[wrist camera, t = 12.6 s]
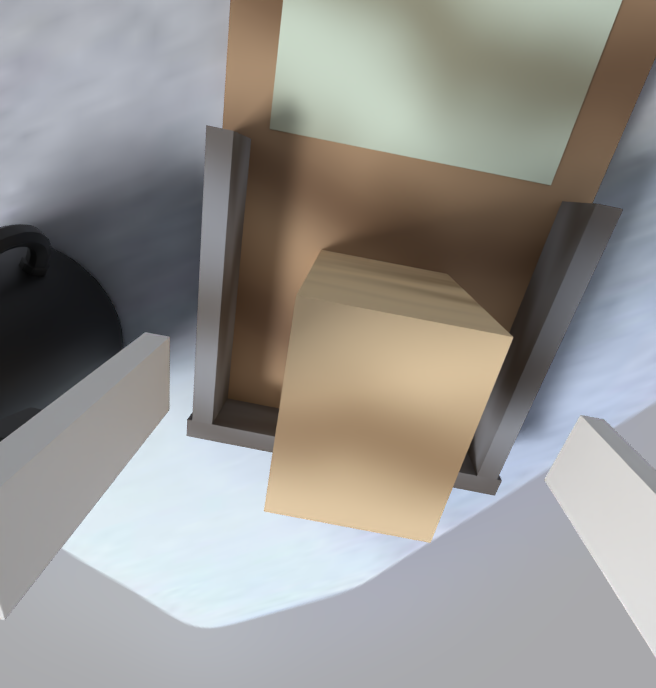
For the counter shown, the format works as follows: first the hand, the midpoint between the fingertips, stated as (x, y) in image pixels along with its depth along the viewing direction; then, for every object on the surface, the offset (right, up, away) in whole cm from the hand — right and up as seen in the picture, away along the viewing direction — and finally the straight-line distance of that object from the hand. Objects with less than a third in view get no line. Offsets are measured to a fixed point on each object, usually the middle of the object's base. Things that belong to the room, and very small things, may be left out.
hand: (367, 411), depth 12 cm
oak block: (+1, +2, +7) cm, 7 cm away
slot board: (+2, +8, +6) cm, 10 cm away
